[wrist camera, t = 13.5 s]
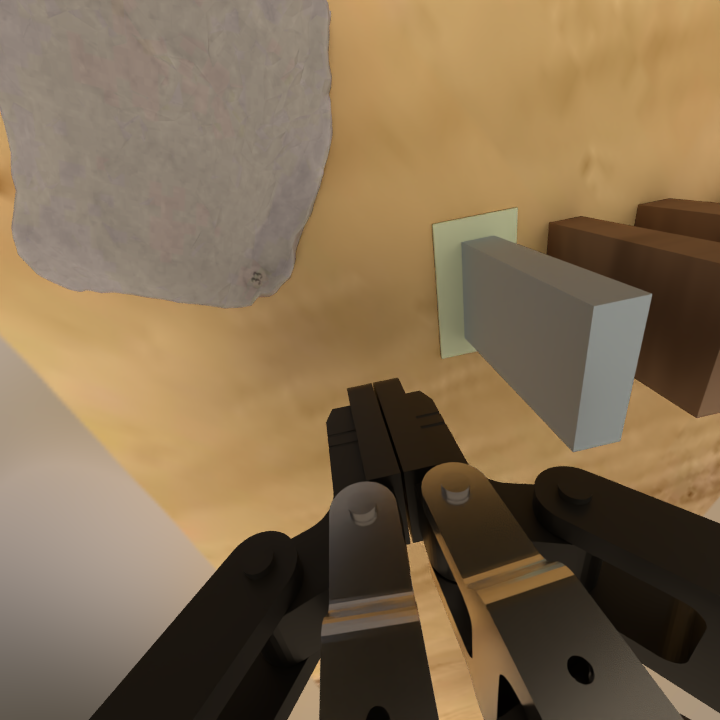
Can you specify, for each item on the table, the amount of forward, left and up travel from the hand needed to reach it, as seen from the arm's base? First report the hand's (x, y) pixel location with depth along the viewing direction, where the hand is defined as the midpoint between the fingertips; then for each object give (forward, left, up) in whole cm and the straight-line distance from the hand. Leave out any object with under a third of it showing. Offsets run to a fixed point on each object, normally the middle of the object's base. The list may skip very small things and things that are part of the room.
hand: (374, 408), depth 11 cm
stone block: (+8, +4, -9) cm, 13 cm away
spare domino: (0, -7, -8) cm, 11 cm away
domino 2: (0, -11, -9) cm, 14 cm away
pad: (0, -7, -8) cm, 11 cm away
